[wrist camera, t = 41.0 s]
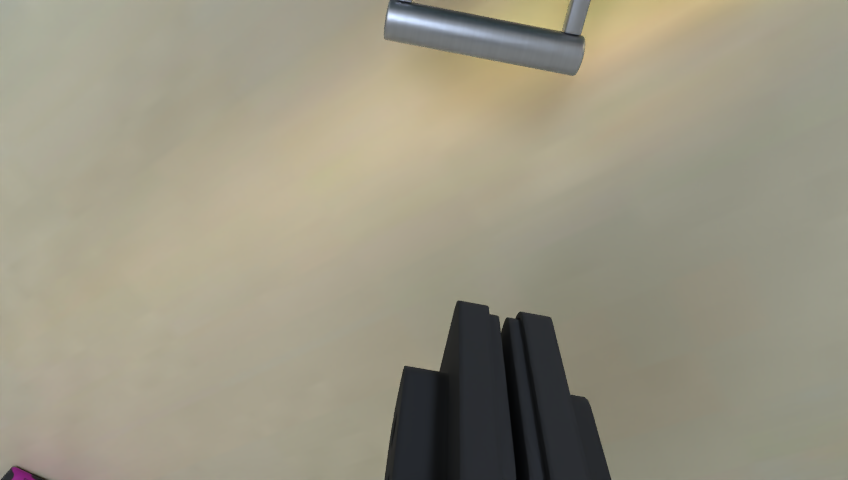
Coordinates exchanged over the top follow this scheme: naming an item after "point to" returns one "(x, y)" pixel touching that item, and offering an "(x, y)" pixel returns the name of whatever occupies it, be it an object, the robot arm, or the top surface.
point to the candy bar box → (19, 475)
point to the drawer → (490, 35)
